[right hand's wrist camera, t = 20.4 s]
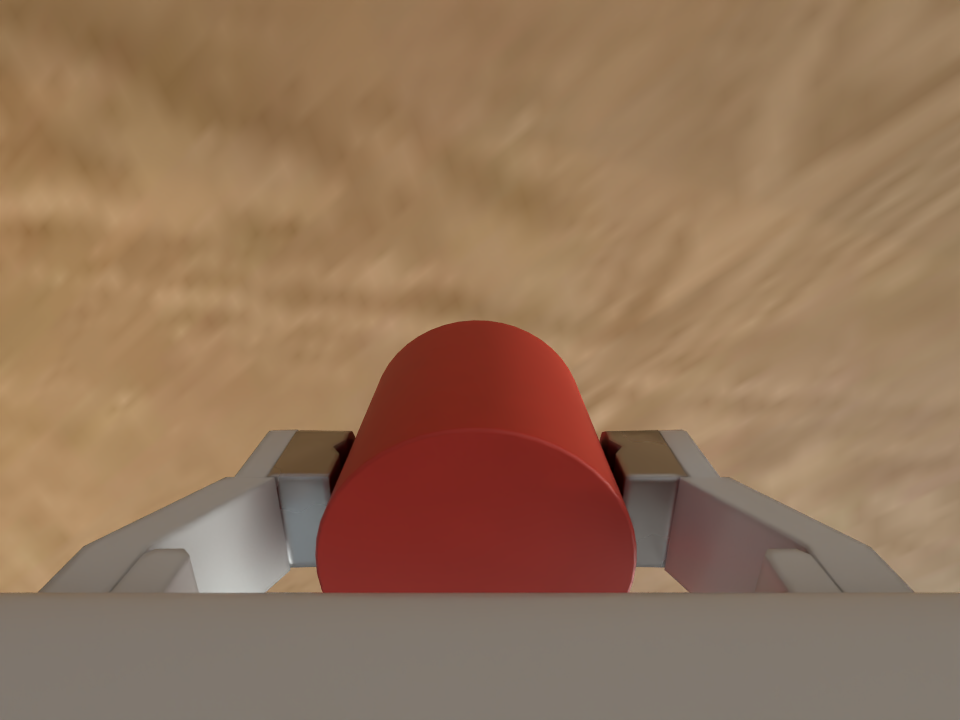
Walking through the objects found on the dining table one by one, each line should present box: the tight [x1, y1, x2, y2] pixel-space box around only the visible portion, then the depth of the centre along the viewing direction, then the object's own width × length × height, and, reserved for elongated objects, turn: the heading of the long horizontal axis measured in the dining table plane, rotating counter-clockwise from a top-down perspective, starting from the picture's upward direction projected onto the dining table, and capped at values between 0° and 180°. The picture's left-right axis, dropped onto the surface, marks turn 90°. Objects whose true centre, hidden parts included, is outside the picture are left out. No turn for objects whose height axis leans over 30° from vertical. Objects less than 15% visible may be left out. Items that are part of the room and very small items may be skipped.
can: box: [315, 320, 637, 593], centre depth 10 cm, size 5×5×5 cm
